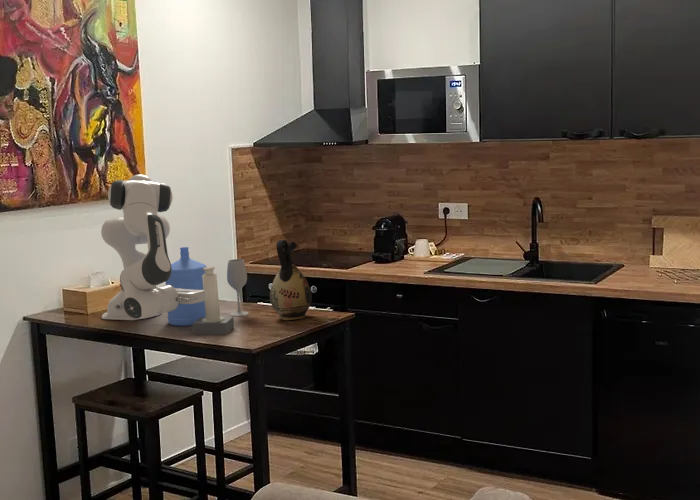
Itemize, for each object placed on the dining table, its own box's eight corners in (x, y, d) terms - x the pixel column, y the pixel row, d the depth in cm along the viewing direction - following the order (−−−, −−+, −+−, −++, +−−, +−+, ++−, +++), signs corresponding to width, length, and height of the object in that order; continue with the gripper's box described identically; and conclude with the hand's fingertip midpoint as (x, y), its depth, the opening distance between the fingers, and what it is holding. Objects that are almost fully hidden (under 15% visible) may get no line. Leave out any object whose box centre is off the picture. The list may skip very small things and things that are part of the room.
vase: (204, 320, 313) (199, 269, 310) (208, 317, 318) (204, 266, 315) (217, 320, 312) (213, 269, 309) (221, 317, 317) (217, 266, 314)
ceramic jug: (282, 312, 342) (277, 235, 337) (319, 314, 336) (315, 235, 332) (262, 322, 326) (257, 241, 322) (300, 324, 320) (296, 242, 316)
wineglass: (251, 311, 345) (247, 258, 342) (246, 316, 338) (243, 261, 335) (231, 312, 346) (228, 259, 343) (227, 316, 339) (223, 262, 336)
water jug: (202, 326, 324) (197, 250, 320) (161, 326, 326) (156, 251, 322) (215, 317, 339) (211, 244, 335) (176, 317, 341) (171, 245, 337)
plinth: (193, 334, 312) (192, 322, 311) (201, 327, 322) (201, 316, 321) (226, 334, 310) (225, 322, 309) (234, 327, 320) (233, 315, 319)
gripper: (189, 290, 287) (216, 283, 299) (141, 287, 297) (169, 280, 309) (190, 310, 288) (217, 301, 300) (143, 306, 298) (170, 298, 310)
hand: (192, 291), depth 305 cm, fingers open, 8 cm apart
